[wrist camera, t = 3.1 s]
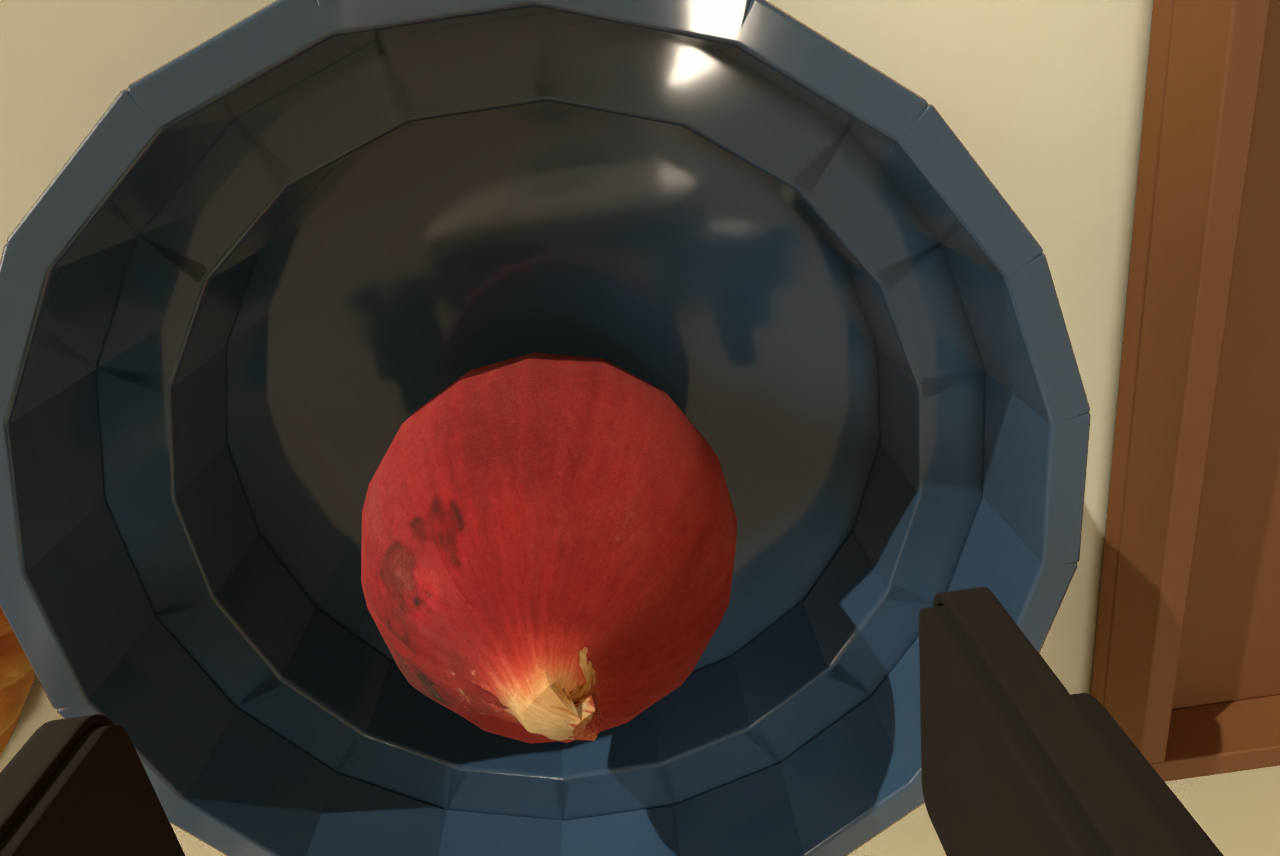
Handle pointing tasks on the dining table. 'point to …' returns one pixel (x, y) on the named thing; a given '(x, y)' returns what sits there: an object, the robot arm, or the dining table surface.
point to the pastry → (12, 680)
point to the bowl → (500, 330)
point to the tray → (1200, 406)
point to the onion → (548, 547)
